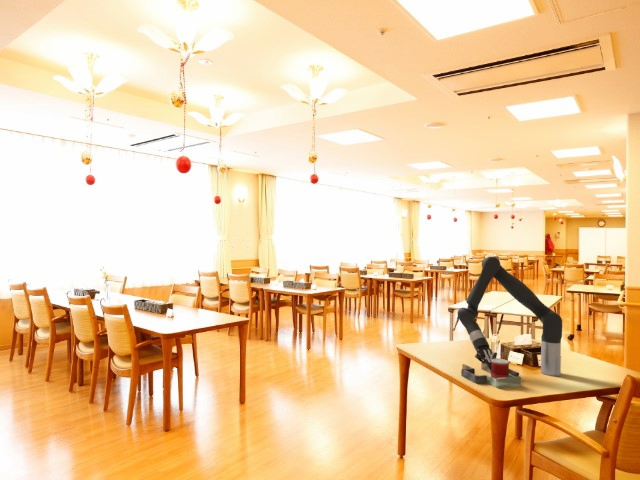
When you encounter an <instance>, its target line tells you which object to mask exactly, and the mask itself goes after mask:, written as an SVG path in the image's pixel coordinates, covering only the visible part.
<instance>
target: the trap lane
mask: <svg viewBox="0 0 640 480" xmlns="http://www.w3.org/2000/svg"><path fill="white" fill-rule="evenodd" d="M461 366H462V369H461V375H460V376H461V377H463V378H464V379H466V380H469V381H470V382H473V384H477V385H479V384H489V385H490V386H493V387H494V388H496V389H504V388H506V387H507V388H514V387H521V385H522V376H520V372H518V371H515V370H513V369H511V368H509V377H504V378H496V379H495V378H493V377H491V375H488V374H484V375H476V373H475V372H476V369H475V368H474V367H473V366H469V365H467V364H465V363H462V364H461ZM480 367H481V370H483V371H485V372H487V373H490V374H491V370H490V369H489V367H488V365H487V364H483V363H482V362H481V366H480Z"/></svg>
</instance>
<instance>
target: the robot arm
mask: <svg viewBox="0 0 640 480" xmlns="http://www.w3.org/2000/svg"><path fill="white" fill-rule="evenodd" d="M493 278H494V279H495V280H496V281H497V282H498V283H499V284H500V285H501V286H502V287H503V288H504V289H505V290H506V292H507V293H509V295H511V296H512V297H513V298H514V299H515V301H517V302H519V303H520V304H521V305H522V306H524V307H525V308H527V310H529V311H530V312H532V313H533V314H534V316H535V317H536V318H537V319H538V320H539V321H540V323H541V324H542V334H541V336H540V337H541V340H540V342H541V343H540V345H541V346H540V347H541V349H540V373H542V374H544V375H547V376H552V377H557V376H558V377H560V376H561V373H562V372H561V371H562V370H561V368H562V355H561V354H562V353H561V352H562V351H561V350H562V349H561V347H562V345H561V344H562V337H563V319H562V317H561V315H559V314H558V313H557V312H556V311H554V310H552V309H551V308H549V307H548V306H547V305H546V304H544V303H543V302H542V301H541V300H540V299H539V297H538V296H537V295H536V294H535V293H534V291H532V290H531V288H529V286H527V285H526V284H525V283H524V282H522V281H521V280H520V279H519V278H518V277H515V276H514V275H513V274H511V273H509V272H508V271H507V270H506V269H505V268H504V267H503V266H502V265H501V261H500V259H498V258H497V257H495V256H488V257H487V256H486V257H485V258H483V260H482V261H481V272H480V274H479V277H478V279H477V280H476V282H475V284H474V285H473V287H472V288H471V290H470V292H469V293H468V296H467V298H466V301H465V302H466V304H467V307H460V308H459V309H458V311H457V318H458V320H459V321H460V323H461V325H462V326H463V327H464V328H465V330H466V332H467V334H468V336H469V339H470V341H471V342H470V343H472V346H473V348H474V350H475V351H476V354H475V355H474V357H475V358H476V359H477V360H478V361H479V362H481V363H483V364H487V365H488V367H489V369H490V370H491V363H492V359H497V357H498V353H497V352H496V351H493V350H492V349H491V348H490V344H489V342H488V340H487V338H486V336H485V334H484V332H483V331H482V329H481V327H480V325H479V324H478V323H477V321H475V319H476V317H477V314H478V309H479V305H480V303H481V302H482V299H483V298H484V296H485V294H486V290H487V288H488V286H489V285H490V283H491V281H492V279H493Z"/></svg>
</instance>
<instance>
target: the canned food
mask: <svg viewBox="0 0 640 480" xmlns="http://www.w3.org/2000/svg"><path fill="white" fill-rule="evenodd" d="M509 369H510V362H509V360H506V359H503V358H496V359H492V363H491V373H490V376H491V377H493V378H495V379H496V378H504V377H509Z"/></svg>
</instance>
